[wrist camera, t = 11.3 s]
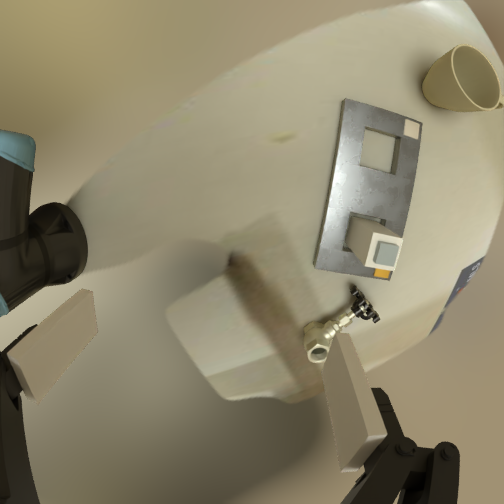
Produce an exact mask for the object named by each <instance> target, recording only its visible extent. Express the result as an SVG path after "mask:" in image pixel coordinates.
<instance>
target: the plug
mask: <svg viewBox="0 0 504 504" xmlns="http://www.w3.org/2000/svg"><path fill="white" fill-rule="evenodd" d="M345 243H346V244H347V246H348V247H349V248H350V249H351V250H352V252H353V253H354V254H355V255H356V256H357V258H358V259H359V260H360V261H361V262H362V264H363V265H364V266H366V267H372V268H378V269H384V270H390V271H395V268H396V264H397V261H398V257H399V254H400V250H401V246H402V243H403V238H402V237H400V236H399V235H397V234H395V233H394V232H392V231H391V230H389V229H388V228H386V227H384V226H383V225H381V224H379V223H378V222H376V221H373V220H368V219H364V218H359V217H354V216H351V217H350V222H349V226H348V231H347V235H346V240H345Z"/></svg>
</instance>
